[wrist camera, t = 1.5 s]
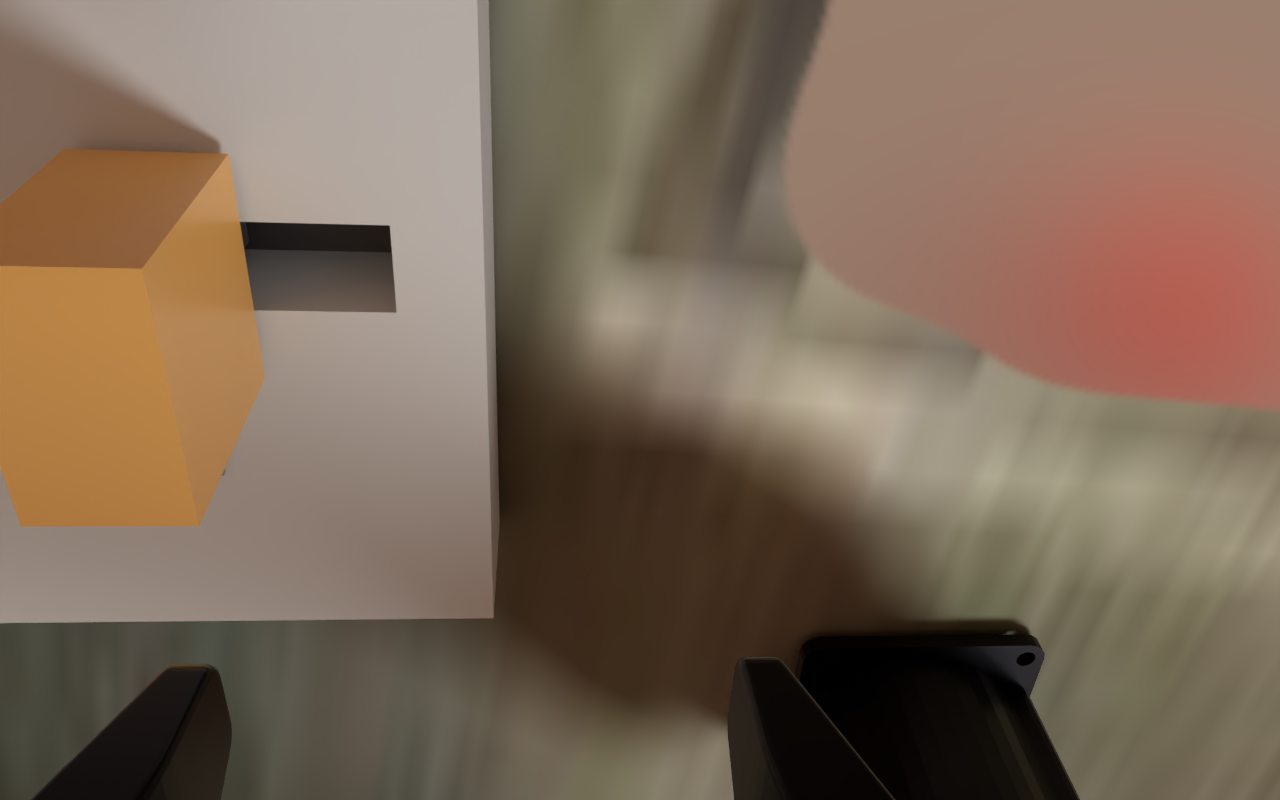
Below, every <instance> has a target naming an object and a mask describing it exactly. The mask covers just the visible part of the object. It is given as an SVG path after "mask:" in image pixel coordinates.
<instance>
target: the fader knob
mask: <svg viewBox="0 0 1280 800" xmlns="http://www.w3.org/2000/svg"><path fill="white" fill-rule="evenodd" d="M248 242H249V238H248V232H247V225H246V222H240V220H239V214H238V208H237V202H236V196H235V190H234V183H233V177H232V171H231V165H230V159H229V154H220V153H187V152H153V151H120V150H86V149H63V150H62V151H61V152H60V153H59V154H57V155H56V156H55V157H54V158H53V159H52V160H50V161H49V162H48V163H47V164H46V165H45V166H44V167H42V168H41V169H40V170H39V171H38V172H37V173H36V174H34V175H33V176H32V177H31V178H30V179H29V180H27V181H26V182H25V183H24V184H23V185H22V186H21V187H19V188H18V189H17V190H16V191H15V192H14V193H12V194H11V195H10V196H9V197H8V198H7V199H6V200H4V201H3V202H2V203H1V204H0V468H1V471H2V474H3V476H4V479H5V482H6V485H7V488H8V491H9V494H10V497H11V500H12V503H13V506H14V509H15V511H16V514H17V517H18V520H19V523H20V526H21V527H39V526H200V524H201V521H202V519H203V517H204V515H205V512H206V510H207V508H208V506H209V503H210V501H211V499H212V496H213V494H214V492H215V490H216V487H217V485H218V483H219V481H220V478H221V476H222V474H223V471H224V469H225V467H226V465H227V462H228V460H229V458H230V456H231V453H232V451H233V449H234V446H235V444H236V442H237V440H238V437H239V435H240V433H241V431H242V428H243V426H244V424H245V422H246V419H247V417H248V415H249V412H250V410H251V408H252V406H253V403H254V401H255V399H256V397H257V394H258V392H259V390H260V387H261V385H262V383H263V381H264V378H265V374H264V368H263V362H262V356H261V350H260V343H259V337H258V331H257V325H256V319H255V313H254V306H253V300H252V294H251V288H250V282H249V276H248V270H247V263H246V257H245V251H244V249H245V247H246V246H247V244H248Z"/></svg>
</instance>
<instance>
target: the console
mask: <svg viewBox="0 0 1280 800" xmlns="http://www.w3.org/2000/svg"><path fill="white" fill-rule="evenodd" d="M63 149H86V150H120V151H153V152H187V153H220V154H229V159H230V165H231V171H232V177H233V183H234V190H235V196H236V202H237V208H238V214H239V220H240V222H246V225H247V232H248V238H249V242H248V244H247V246H246V247H245V249H244V251H245V257H246V263H247V270H248V276H249V282H250V288H251V294H252V300H253V306H254V313H255V319H256V325H257V331H258V337H259V343H260V350H261V356H262V362H263V368H264V374H265V378H264V381H263V383H262V385H261V387H260V390H259V392H258V394H257V397H256V399H255V401H254V403H253V406H252V408H251V410H250V412H249V415H248V417H247V419H246V422H245V424H244V426H243V428H242V431H241V433H240V435H239V437H238V440H237V442H236V444H235V446H234V449H233V451H232V453H231V456H230V458H229V460H228V462H227V465H226V467H225V469H224V471H223V474H222V476H221V478H220V481H219V483H218V485H217V487H216V490H215V492H214V494H213V496H212V499H211V501H210V503H209V506H208V508H207V510H206V512H205V515H204V517H203V519H202V521H201V524H200V526H39V527H21V526H20V523H19V520H18V517H17V514H16V511H15V509H14V506H13V503H12V500H11V497H10V494H9V491H8V488H7V485H6V482H5V479H4V476H3V474H2V471H1V468H0V623H46V622H150V621H254V620H359V619H463V618H494V603H495V588H496V573H497V558H498V542H499V527H500V522H499V474H498V426H497V378H496V330H495V282H494V234H493V186H492V138H491V90H490V43H489V0H0V204H1V203H2V202H3V201H4V200H6V199H7V198H8V197H9V196H10V195H11V194H12V193H14V192H15V191H16V190H17V189H18V188H19V187H21V186H22V185H23V184H24V183H25V182H26V181H27V180H29V179H30V178H31V177H32V176H33V175H34V174H36V173H37V172H38V171H39V170H40V169H41V168H42V167H44V166H45V165H46V164H47V163H48V162H49V161H50V160H52V159H53V158H54V157H55V156H56V155H57V154H59V153H60V152H61V151H62V150H63Z"/></svg>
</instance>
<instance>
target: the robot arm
mask: <svg viewBox="0 0 1280 800" xmlns="http://www.w3.org/2000/svg"><path fill="white" fill-rule="evenodd" d="M820 655H824V656H822V657H817V656H820ZM1043 660H1044V652H1043V650H1042V648H1041V646H1040V644H1039V642H1038V640H1037V639H1036V638H1035V637H1033V636H1032V635H1025V634H1021V635H934V636H847V637H817V638H813V639H811V640H808V641H807V642H806V643H805V644H803V645H802V647H801V650H800V653H799V658H798V663H797V668H796V673H795V675H794V674H793V673H792V672H791V670H790V669H789V668H788V667H787V666H786V664H785V663H784V662H783V661H782V660H781V659H779V658H777V657H743V658H741V659H739V660H738V662H737V664H736V667H735V672H734V679H733V686H732V692H731V699H730V705H729V712H728V740H729V750H730V761H731V771H732V781H733V791H734V800H1080V799H1079V797H1078V795H1077V793H1076V791H1075V788H1074V786H1073V784H1072V782H1071V780H1070V778H1069V776H1068V774H1067V772H1066V770H1065V768H1064V766H1063V764H1062V762H1061V760H1060V758H1059V756H1058V754H1057V752H1056V750H1055V748H1054V746H1053V744H1052V742H1051V740H1050V738H1049V736H1048V734H1047V731H1046V729H1045V727H1044V725H1043V723H1042V721H1041V719H1040V717H1039V715H1038V713H1037V711H1036V709H1035V707H1034V705H1033V703H1032V701H1031V699H1030V694H1031V692H1032V689H1033V687H1034V684H1035V681H1036V679H1037V676H1038V673H1039V671H1040V668H1041V665H1042V663H1043ZM231 739H232V726H231V720H230V715H229V711H228V707H227V702H226V698H225V694H224V689H223V685H222V681H221V677H220V674H219V671H218V670H217V668H216V667H215V666H213V665H209V664H179V665H172V666H170V667H168V668H166V669H165V670H164V671H162V672H161V673H160V674H159V675H158V676H157V677H156V678H155V679H154V680H153V681H152V682H151V683H150V684H149V685H148V686H147V687H146V688H145V689H144V690H143V691H142V692H141V693H139V694H138V695H137V696H136V697H135V698H134V699H133V700H132V701H131V702H130V703H129V704H128V705H127V706H126V707H125V708H124V709H123V710H122V711H121V712H120V713H119V714H118V715H117V716H116V717H115V718H114V719H113V720H112V721H111V722H110V723H108V724H107V725H106V726H105V727H104V728H103V729H102V730H101V731H100V732H99V733H98V734H97V735H96V736H95V737H94V738H93V739H92V740H91V741H90V742H89V743H88V744H87V745H86V746H85V747H84V748H83V749H82V750H81V751H80V752H79V753H77V754H76V755H75V756H74V757H73V758H72V759H71V760H70V761H69V762H68V763H67V764H66V765H65V766H64V767H63V768H62V769H61V770H60V771H59V772H58V773H57V774H56V775H55V776H54V777H53V778H52V779H51V780H50V781H49V782H48V783H46V784H45V785H44V786H43V787H42V788H41V789H40V790H39V791H38V792H37V793H36V794H35V795H34V796H33V797H32V798H31V799H30V800H221V795H222V790H223V785H224V780H225V774H226V769H227V764H228V759H229V754H230V748H231Z"/></svg>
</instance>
